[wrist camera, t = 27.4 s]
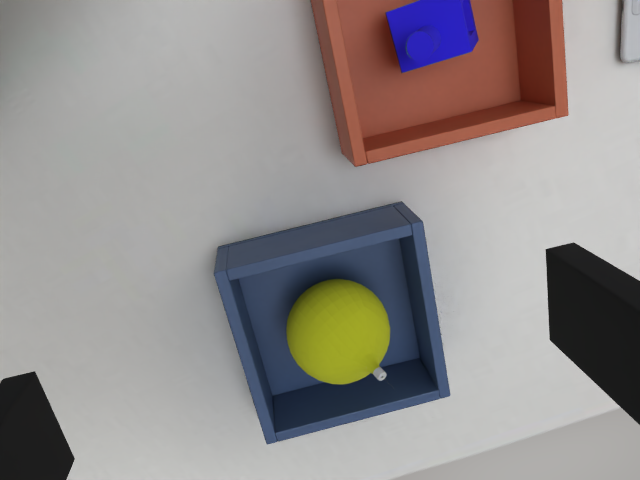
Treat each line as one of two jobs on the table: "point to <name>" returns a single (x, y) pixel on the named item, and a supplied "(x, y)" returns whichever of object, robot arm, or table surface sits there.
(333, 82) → the terracotta bin
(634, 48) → the smartphone
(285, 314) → the blue bin
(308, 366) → the ornament
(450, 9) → the toy building block
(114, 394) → the table surface
